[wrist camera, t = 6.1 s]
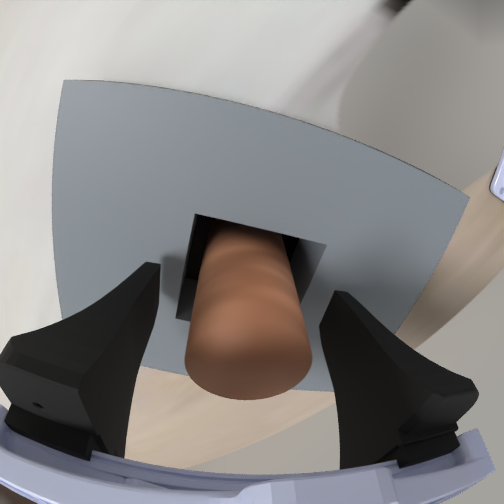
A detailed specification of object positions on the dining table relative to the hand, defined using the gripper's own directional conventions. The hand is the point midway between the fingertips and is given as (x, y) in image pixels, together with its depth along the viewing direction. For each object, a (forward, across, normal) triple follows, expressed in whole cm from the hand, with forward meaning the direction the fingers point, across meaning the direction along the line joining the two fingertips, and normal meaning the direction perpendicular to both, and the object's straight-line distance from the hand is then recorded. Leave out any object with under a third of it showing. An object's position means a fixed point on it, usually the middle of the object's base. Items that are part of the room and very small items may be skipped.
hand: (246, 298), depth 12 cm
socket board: (+4, 0, 0) cm, 4 cm away
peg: (+4, 0, 0) cm, 4 cm away
